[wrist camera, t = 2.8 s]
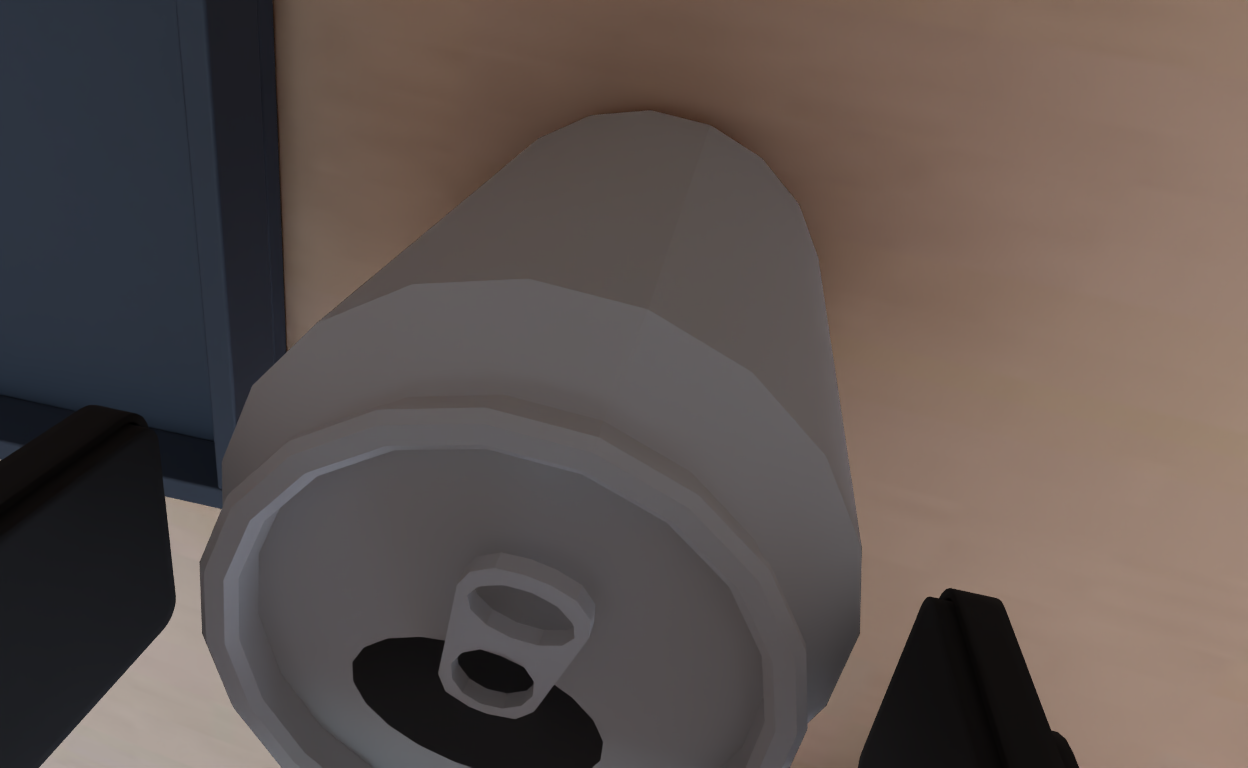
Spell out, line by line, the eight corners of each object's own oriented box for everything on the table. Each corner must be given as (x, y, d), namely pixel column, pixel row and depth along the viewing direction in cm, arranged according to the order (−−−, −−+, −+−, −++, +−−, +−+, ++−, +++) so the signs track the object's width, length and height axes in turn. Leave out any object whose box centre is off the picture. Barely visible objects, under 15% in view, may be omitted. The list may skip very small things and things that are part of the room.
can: (443, 353, 21) (95, 785, 10) (539, 41, 17) (159, 201, 6) (730, 472, 21) (689, 1014, 10) (884, 190, 17) (1060, 575, 7)
